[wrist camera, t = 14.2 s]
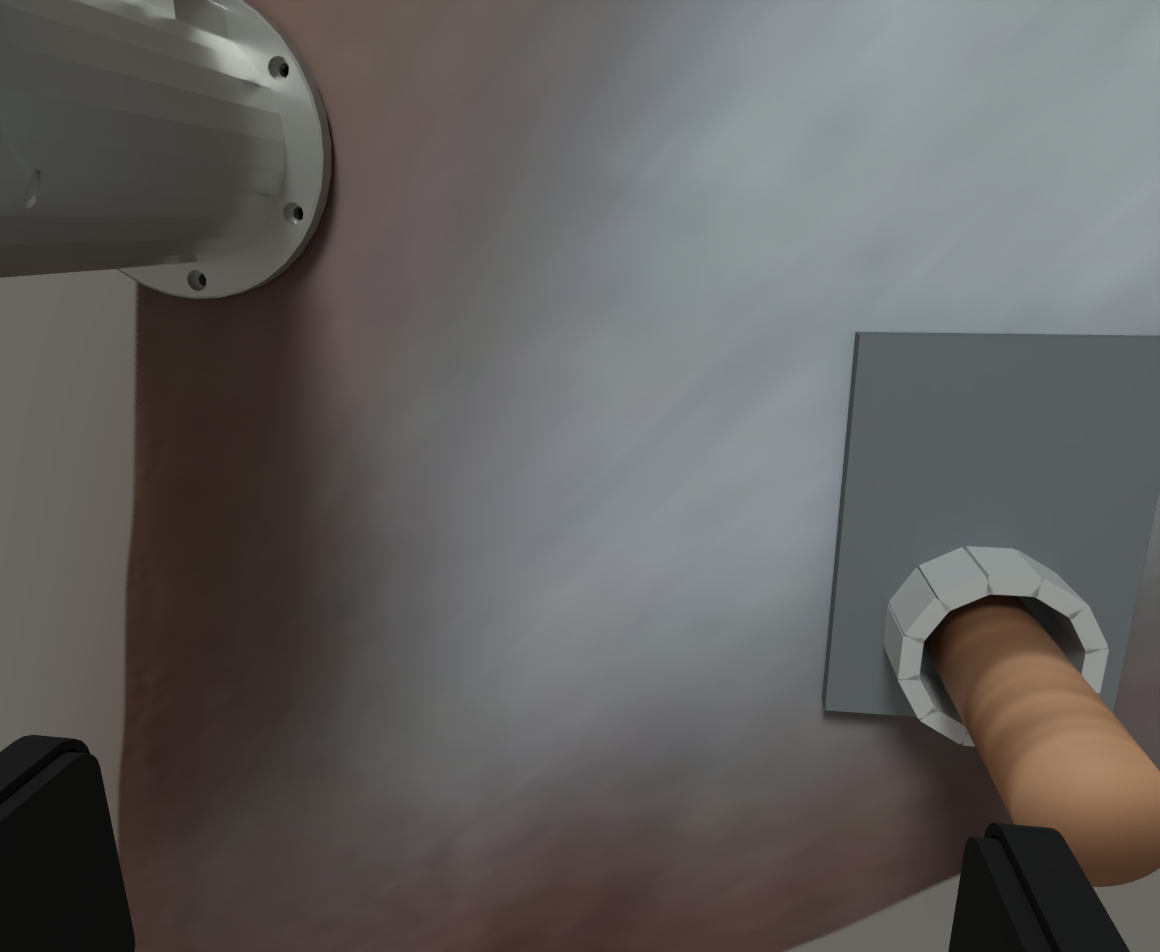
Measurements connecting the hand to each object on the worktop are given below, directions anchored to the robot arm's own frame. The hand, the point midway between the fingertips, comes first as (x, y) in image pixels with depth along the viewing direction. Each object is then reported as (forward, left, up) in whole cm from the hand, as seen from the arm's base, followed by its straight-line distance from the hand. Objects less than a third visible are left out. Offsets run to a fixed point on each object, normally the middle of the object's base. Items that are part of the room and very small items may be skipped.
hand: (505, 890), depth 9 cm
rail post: (+10, +14, -27) cm, 32 cm away
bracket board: (+6, +14, -28) cm, 32 cm away
